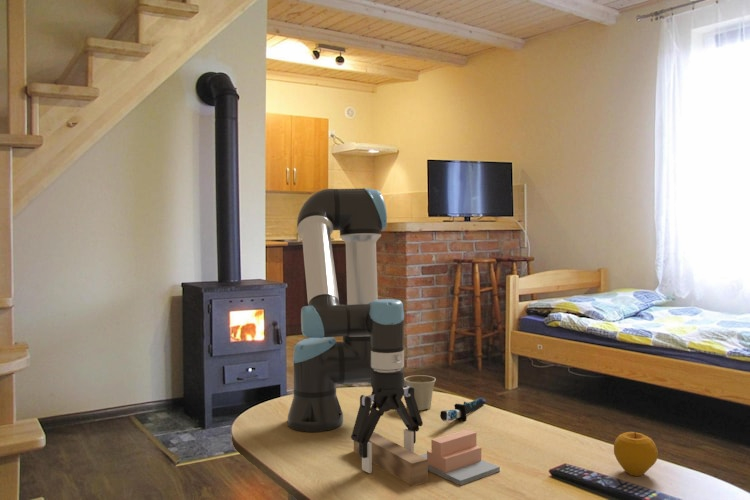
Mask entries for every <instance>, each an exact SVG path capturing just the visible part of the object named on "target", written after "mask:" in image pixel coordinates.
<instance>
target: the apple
mask: <svg viewBox="0 0 750 500" xmlns="http://www.w3.org/2000/svg"><path fill="white" fill-rule="evenodd" d="M613 454H614V457H615V458H616V461H617V462H618V464H619V465H620V466H621V468H622V469H623V470H624V472H625V473H627V474H628V475H630V476H634V477H639V476H642V475H645V474H646V472H647V471H648V470H650V469H651V468H652V467H653V466H654V465H655V464H656V462H657V461H658V456H659V452H658V448H657V446H656V443H655V442H654V441H653V438H652V437H649V436H648V435H645V434H644V433H641V432H637V431H627V432H626V431H625V432H623V433H620V434H619V435H618V436H617V437H615V441H614V443H613Z"/></svg>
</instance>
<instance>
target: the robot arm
mask: <svg viewBox="0 0 750 500" xmlns="http://www.w3.org/2000/svg"><path fill="white" fill-rule="evenodd" d="M385 203H386V202H385V199H384V197H383V195H382V192H381V191H380V190H378V189H376V188H375V189H372V188H365V187H364V188H324V189H321V190H318V191H316V192H315V193H314V194H312V195H310V196H309V197H308V198H307V200H306V201H305V202H304V203H303V204H302V206H301V209H300V211H299V212H298V216H297V219H296V221H297V223H296V225H297V226H296V229H297V234H298V235H299V237H300V238H301V239H302V240H301V242H302V250H303V251H302V252H303V264H304V273H305V283H306V284H305V285H306V295H307V297H306V298H307V304H308V305H305V306H304V305H303V307H301V309H300V311H301V312H300V325H301V326H300V328H301V333H302V336H303V337H305V339H302V340H299V341H298V342H297V343H296V344H295V345H294V346H293V350H292V351H293V352H292V353H293V354H292V355H293V356H292V363H293V397H292V399H291V400H292V401H291V404H290V408H289V411H288V414H287V426H288V427H289V428H291V429H292V430H295V431H301V432H311V433H313V432H315V433H316V432H324V431H330V430H333V429H336V428H337V429H338V428H339V427H341V426H342V425H343V424H344V414H343V411H342V408H341V405H340V402H339V401H340V400H339V399H338V395H337V385H349V384H350V385H352V384H365V383H366V384H367V383H368V384H370V385H371V388H372V390H371V394H368V395H365V394H361V395H360V396H359V408H358V411H357V416H356V419H355V421H354V426H353V429H352V433H351V436H350V439H351V440H352V441H353V442H354V441H356V442H358V443H359V454H358V455H359V457H360V458H361V470H362V471H364V472H366V473H368V474H371V473H373V462H372V443H370V442H369V440H370V438H371V435H372V433H373V432H374V431H375V429H376V427H377V424H379V421H380V418H381V417H382V416H384V414H385V413H386V412H389V411H396V413H397V415H398V416H399V418H400V420H402V422H403V424H404V425H405V427H406V428H404V429H403V447H404V448H406V449H408V450H410V451H412V452H414V453H415V444H416V443H417V441H416V440H417V439H416V435H417V434H416V433H417V432H419V431H420V427H422V426H423V424H424V423H423V420H422V419H423V418H422V416H421V412H420V410H418V406H417V403H416V400H415V397H414V388H412V387H409V386H406V385H405V381H404V378H405V370H404V369H403V368H404V367H405V322H404V321H405V312H404V303H403V302H402V301H401V300H400V299H394V298H380V299H379V293H378V266H377V265H378V264H377V259H378V258H377V241H379V239H380V238H381V237H382V231H385V230H386V229H387V225H388V214H387V208H386V204H385ZM333 231H339V238H340V239H342V240H343V242H344V243H345V264H346V265H345V266H346V268H345V269H346V300H347V301H346V304H340V299H339V291H338V284H337V276H336V268H335V267H336V266H335V261H334V254H333V245H332V237H331V235H332V234H333ZM340 337H342V341H337V339H336V338H340ZM403 398H404V401H405V404H404V402H403V400H402V399H403Z"/></svg>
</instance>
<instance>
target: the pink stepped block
mask: <svg viewBox="0 0 750 500" xmlns="http://www.w3.org/2000/svg"><path fill="white" fill-rule="evenodd" d="M430 440H431V443H430V444H431V449H430V450H426V453H424V454H419V455H420V456H422V457H424V458H426V459H427V460H428V472H431V473H433V474H435V475H437V476H440V477H442V478H443V479H446V480H448V481H450V482H452V483H454V484H457V485H459V486H463V485H465V484H469V483H471V482H474V481H476V480H480V479H482V478H484V477H485V478H486V477H488V476H490V475H494V474H496V473H499V472H501V470H500V467H501V466H499V465H496V464H494V463H491V462H490V461H486V460H484V459H482V447H481V446H479V445H477V432H476V431H473V430H471V429H463V430H459V431H457V432H452V433H449V434H446V435H443V436H439V437H436V438H435V437H434V438H433V439H430Z"/></svg>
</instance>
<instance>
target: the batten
mask: <svg viewBox="0 0 750 500" xmlns="http://www.w3.org/2000/svg"><path fill="white" fill-rule="evenodd" d="M369 442H370V443H372V464H374V465H376V466H377V467H380V468H381V469H383V470H385V471H386V472H388V473H390V474H392V475H393V476H395V477H396V478H398V479H400V480H402V481H403V482H405V483H407V484H408V485H410V486H417V485H420V484H424V483H428V482H429V481H428V479H429V477H428V476H429V475H428V472H429V471H428V460H427V459H426V458H424V457H422V456H420V455H421V454H418V453H416V452H415V451H414V452H412V451H410V450H408V449H406V448H404V446H402V445H400V444H398V443H396V442H395V441H392V440H391V439H388V438H386V436H385V437H384V436H382V435H380V434H379V433H377V432H374V431H373V433H372V435H371V438H370V440H369ZM353 452H355V453H356V454H357V455H359V443H358V442H356V441H354V440H353Z"/></svg>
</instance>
